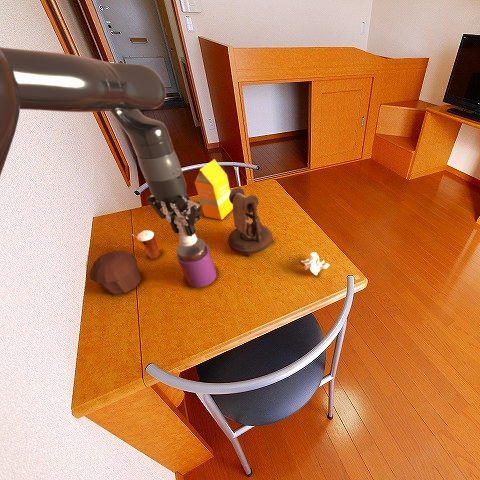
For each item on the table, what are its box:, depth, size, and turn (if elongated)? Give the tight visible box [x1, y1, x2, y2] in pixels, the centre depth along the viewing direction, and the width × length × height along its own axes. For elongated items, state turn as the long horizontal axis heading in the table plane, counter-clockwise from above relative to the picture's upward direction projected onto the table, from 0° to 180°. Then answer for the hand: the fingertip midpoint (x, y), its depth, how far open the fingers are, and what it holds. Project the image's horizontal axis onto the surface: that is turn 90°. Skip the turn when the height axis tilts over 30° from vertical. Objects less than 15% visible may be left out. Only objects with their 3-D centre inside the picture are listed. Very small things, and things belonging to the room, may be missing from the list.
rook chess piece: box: [174, 216, 198, 247], centre depth 71 cm, size 4×4×8 cm
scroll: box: [227, 186, 273, 257], centre depth 88 cm, size 15×15×20 cm
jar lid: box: [175, 237, 207, 261], centre depth 75 cm, size 8×8×2 cm
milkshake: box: [130, 230, 161, 259], centre depth 85 cm, size 4×5×10 cm
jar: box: [176, 244, 218, 289], centre depth 79 cm, size 8×8×12 cm
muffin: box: [88, 250, 142, 296], centre depth 76 cm, size 12×11×10 cm
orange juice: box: [194, 158, 233, 221], centre depth 101 cm, size 8×9×20 cm
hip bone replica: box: [300, 251, 330, 276], centre depth 85 cm, size 8×4×7 cm
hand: (185, 232), depth 71 cm, fingers closed on rook chess piece, 3 cm apart
